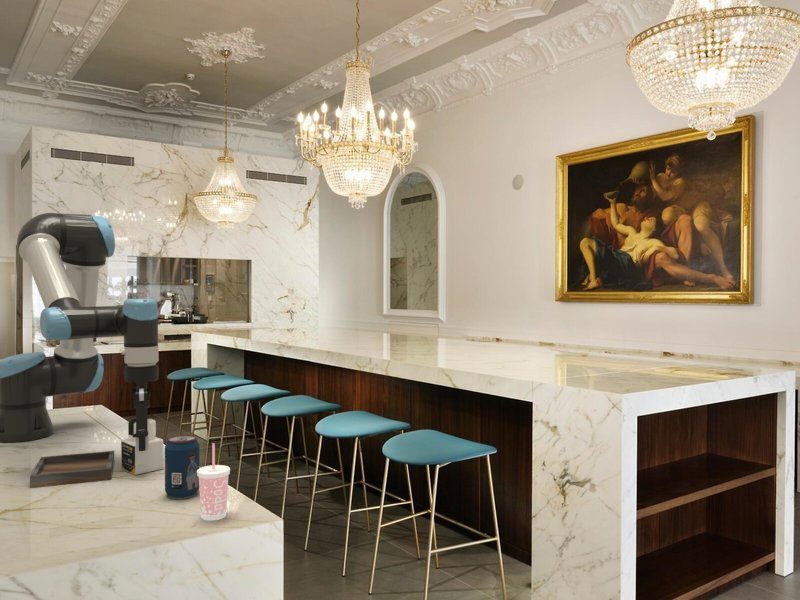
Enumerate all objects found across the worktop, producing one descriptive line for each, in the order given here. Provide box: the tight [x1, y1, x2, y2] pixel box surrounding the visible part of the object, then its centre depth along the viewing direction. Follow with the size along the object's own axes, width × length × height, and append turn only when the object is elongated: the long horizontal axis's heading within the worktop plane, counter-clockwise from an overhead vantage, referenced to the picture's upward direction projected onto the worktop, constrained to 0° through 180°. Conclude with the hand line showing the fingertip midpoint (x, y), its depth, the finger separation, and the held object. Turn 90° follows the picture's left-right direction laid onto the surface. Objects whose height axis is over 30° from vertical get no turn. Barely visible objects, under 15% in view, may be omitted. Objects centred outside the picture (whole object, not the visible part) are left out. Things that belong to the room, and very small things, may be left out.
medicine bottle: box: [120, 417, 165, 476], centre depth 153 cm, size 7×7×12 cm
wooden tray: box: [29, 450, 116, 489], centre depth 150 cm, size 16×16×2 cm
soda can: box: [164, 434, 201, 500], centre depth 136 cm, size 7×7×12 cm
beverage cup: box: [197, 442, 231, 521], centre depth 124 cm, size 6×6×14 cm
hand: (142, 458), depth 154 cm, fingers closed on medicine bottle, 9 cm apart
